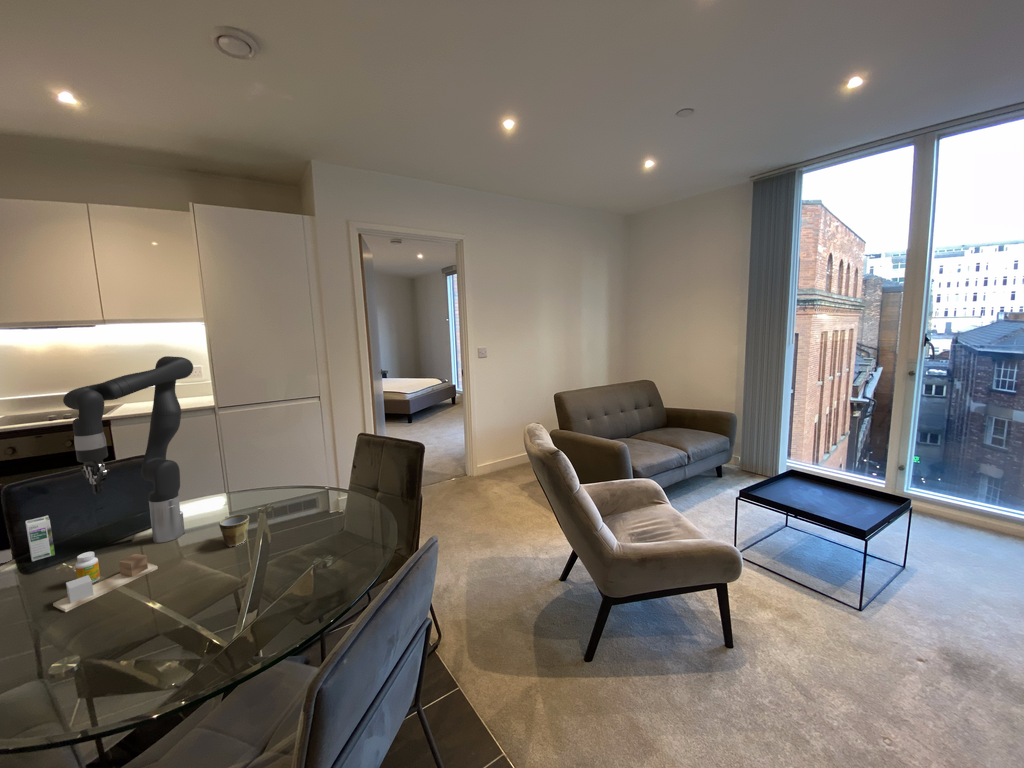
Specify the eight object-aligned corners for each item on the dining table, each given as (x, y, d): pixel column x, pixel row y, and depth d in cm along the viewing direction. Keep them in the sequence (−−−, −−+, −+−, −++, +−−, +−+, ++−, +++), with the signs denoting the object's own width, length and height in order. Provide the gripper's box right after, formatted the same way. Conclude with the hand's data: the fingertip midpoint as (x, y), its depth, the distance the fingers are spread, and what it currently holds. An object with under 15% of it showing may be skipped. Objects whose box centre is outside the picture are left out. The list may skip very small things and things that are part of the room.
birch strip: (145, 564, 147) (145, 561, 147) (157, 568, 145) (157, 566, 144) (53, 606, 125) (52, 603, 124) (65, 612, 122) (65, 609, 122)
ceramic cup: (255, 541, 164) (253, 518, 163) (227, 552, 156) (225, 528, 154) (240, 531, 171) (238, 509, 170) (213, 542, 163) (211, 519, 161)
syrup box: (31, 562, 147) (26, 525, 145) (30, 556, 150) (24, 520, 148) (55, 555, 151) (50, 519, 149) (53, 549, 155) (48, 514, 153)
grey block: (90, 589, 131) (88, 574, 131) (93, 595, 129) (91, 580, 128) (68, 597, 127) (65, 582, 127) (70, 603, 124) (68, 588, 124)
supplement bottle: (85, 587, 134) (81, 560, 132) (73, 584, 135) (69, 558, 133) (104, 577, 139) (101, 551, 138) (92, 575, 140) (89, 549, 139)
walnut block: (136, 566, 144) (134, 553, 143) (147, 568, 143) (146, 555, 142) (120, 574, 139) (119, 561, 138) (132, 576, 138) (130, 563, 137)
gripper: (116, 445, 140) (123, 491, 143) (94, 440, 145) (101, 486, 148) (87, 451, 133) (95, 500, 136) (65, 446, 138) (73, 494, 141)
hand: (98, 492), depth 142 cm, fingers closed
